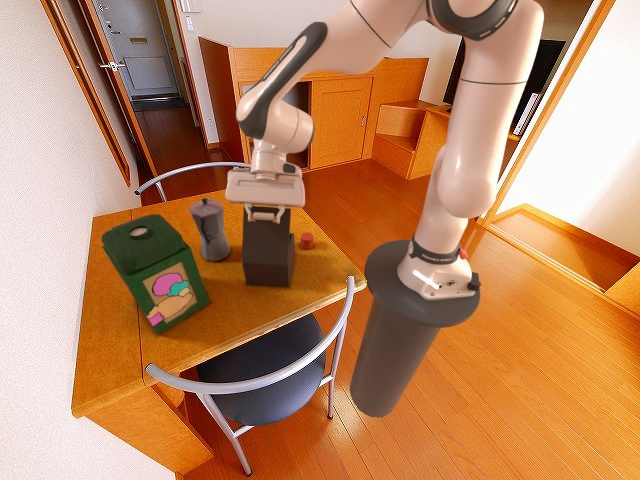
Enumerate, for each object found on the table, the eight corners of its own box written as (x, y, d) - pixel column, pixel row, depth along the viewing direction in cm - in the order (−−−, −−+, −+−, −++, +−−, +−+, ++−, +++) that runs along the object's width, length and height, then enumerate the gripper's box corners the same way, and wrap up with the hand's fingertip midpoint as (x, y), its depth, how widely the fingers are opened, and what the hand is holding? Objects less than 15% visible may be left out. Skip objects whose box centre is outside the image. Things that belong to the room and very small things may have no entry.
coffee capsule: (313, 241, 97) (313, 232, 95) (312, 249, 94) (313, 240, 91) (301, 240, 97) (301, 231, 95) (299, 248, 94) (299, 240, 91)
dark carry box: (257, 251, 92) (254, 230, 86) (294, 253, 92) (294, 233, 86) (246, 284, 81) (242, 263, 75) (288, 287, 81) (287, 266, 75)
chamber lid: (244, 205, 74) (238, 204, 69) (291, 208, 74) (288, 208, 69) (242, 261, 75) (236, 265, 70) (288, 264, 75) (285, 268, 70)
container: (185, 271, 84) (157, 201, 68) (216, 305, 75) (193, 234, 59) (133, 298, 75) (88, 225, 59) (161, 340, 66) (117, 268, 50)
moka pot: (232, 237, 97) (221, 186, 84) (232, 267, 86) (220, 215, 73) (203, 240, 95) (188, 189, 82) (200, 272, 84) (181, 219, 71)
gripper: (224, 162, 68) (219, 217, 67) (306, 168, 68) (302, 223, 67) (232, 171, 75) (227, 221, 73) (307, 175, 74) (303, 226, 73)
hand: (264, 222), depth 70 cm, fingers closed on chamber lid, 5 cm apart
